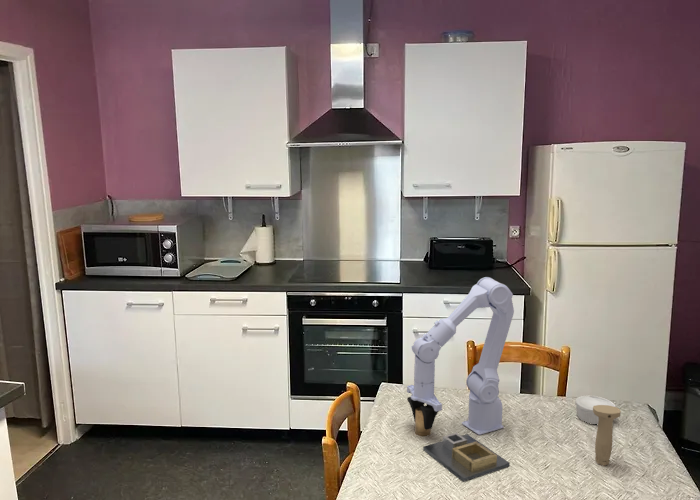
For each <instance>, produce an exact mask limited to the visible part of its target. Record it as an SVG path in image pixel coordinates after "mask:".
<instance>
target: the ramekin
mask: <svg viewBox="0 0 700 500" xmlns="http://www.w3.org/2000/svg"><path fill="white" fill-rule="evenodd" d="M574 402H575V406H576V415H577V418H579V420H580V421H582V420H583V421H585V422H587V423H586V424H588V423H591V424H598V421H599V417H598V416H596V415H595V414H594V413H593V406H596V405H609V406H613V407H617V406H616V404H615V403H614V402H612V401H611V400H609V399H607V398H604V397H602V396H597V395H589V394H588V395H580V396H578V397H576V399H575V401H574ZM583 421H582V422H583ZM585 422H584V423H585ZM591 424H590V425H591Z"/></svg>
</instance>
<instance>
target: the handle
mask: <svg viewBox="0 0 700 500" xmlns="http://www.w3.org/2000/svg"><path fill="white" fill-rule="evenodd" d="M621 412H622V411H621V409H619V408H618V407H617V406H616V407H613V406H609V405H596V406H593V413H594V414H595V415H596V416H598V417H599V421H598V426H597V428H596V429H597V430H596V436H595V443H594V453H595V454H594V455H595V458H594V459H595V462H596V464H597V465H600V466H602V465H603V466H602V467H605V466H609V464H610V462H611V461H610V459H611V456H612V449H613V431H614V430H613V427H614V425H613V423H614V420H615V419H618V418H620V416H621Z"/></svg>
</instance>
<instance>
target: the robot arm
mask: <svg viewBox="0 0 700 500" xmlns="http://www.w3.org/2000/svg"><path fill="white" fill-rule="evenodd" d="M513 296H514V294H513V292H512V291H511V289H510V288H509V287H508V286H507V285H506V284H504V283H501V282H499V281H497V280H495V279H493V278H492V277H489V276H485V277H482V278H480V279H479V280H478V281H477V283H476V284H474V285H472V287H471V289H470V291H469V292H468V294H467V295H466V296H465V298H464V299H463V300H462V301H461V302H460V303H459V304H458V305H457V306H456V308H455V309H454V310H453V311H452V312H451V313H450V314H449V316H448V317H444V318H443V317H442V318H440V319H439V320H438V319H437V320H435V322H434V323H433V324H434V325H433V326H432V327H431V328H430V329H429V330H428V331H427V332H426V333H424V334H422V337H418V338H416V339H415V341H414V342H413V345H412V346H411V351H412V352H413V354H414V367H413V368H414V369H413V370H414V371H413V373H414V374H413V378H414V379H413V384H410V385H407V386H406V393H408V394H410V396H409V397H407V402H408V404H409V406H410V409H411V412H412V416H413V420H414V422H415V413H416V408H417V407H420V406H422V407H420V408H421V410H422V413H423V418H424V428H425V429H426V430H427V429H431V430H432V428H433V425H434V422H435V418H436V417H437V415H438V413H439V412H440V411H443V403H441V402H440V401H439V399H438V398H437V396H436V394H435V378H436V377H435V375H436V374H435V371H436V368H435V367H436V360H437V359H438V357H439V355H440V351H441V349H442V347H444V346H445V345H446V344H447V343H448V342H449V341H450V340H451V339H452V338H453V337H454V336H455V335H456V333H457V327H458V326H459V325H460V324H461V323H462V322H463V321H465V319H466V318H468V317H469V316H470V315H471V314H472V313H473V312H474V311H476V309H480V308H481V309H482V308H483V309H484V308H490V309H491V311H492V316H491V319H490V324H489V327H488V330H487V333H486V337H485V340H484V344H483V346H482V350H481V354H480V358H479V361H478V363H476V364H475V365H473V366H472V369H471V372H470V373H469V374H468V375H467V377H466V380H465V381H466V382H465V383H466V386H467V388H468V389H469V396H468V415H467V416H468V419H467V420H464V421H461V425H463V426H465V427H466V428H467V429H469V430H471V431H472V432H473V433H475V434H476V435H478V436H481V435H484V434H487V433H491V432H494V431H495V432H496V431H497V430H500V429H503V428H504V425H503V424H502V423H503V407H504V406H503V403H502V399H500V397H499V393H500V390H499V384H500V378H499V373H498V368H499V363H500V361H501V357H502V355H503V350H504V348H505V344H506V340H507V337H508V335H509V331H510V327H511V324H512V320H513V318H514V314H515V309H514V303H513ZM425 404H426V405H425Z"/></svg>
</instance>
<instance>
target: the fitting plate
mask: <svg viewBox="0 0 700 500" xmlns="http://www.w3.org/2000/svg"><path fill="white" fill-rule="evenodd" d="M422 449H423V451H424V452H425V454H427V455H429V456H430V457H431V458H432V459H434V460H435V461H436V462H438V463H439V464H440V465H441V466H442V467H444V468H445V469H447V470H448V471H449V472H450V473H451V474H453V475H454V476H455V477H456V478H458V479H459V480H460V481H461V482H463V483H465V482H468V481H470V480H473V479H476V478H479V477H482V476H485V475H488V474H491V473H493V472H497V471H500V470H503V469H506V468H508V467H509V468H510V465H511V463H510V461H508V460H506V459H505V458H503V457H502V456H500V455H499V454H497V453H496V452H495V451H493V450H491V449H490V448H488V447H487V446H486V445H484V444H482V443H481V442H479V441H478V440H477V439H475V438H474V437H472V436H471V435H469V434H468V433H466V434H462V435H461V434H459V433H458V432H454V433H453V432H452V433H449V434H447V435H444V436H442V440H441V441H437V442H435V443H431V444H428V445H424V446H423V447H422Z"/></svg>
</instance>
